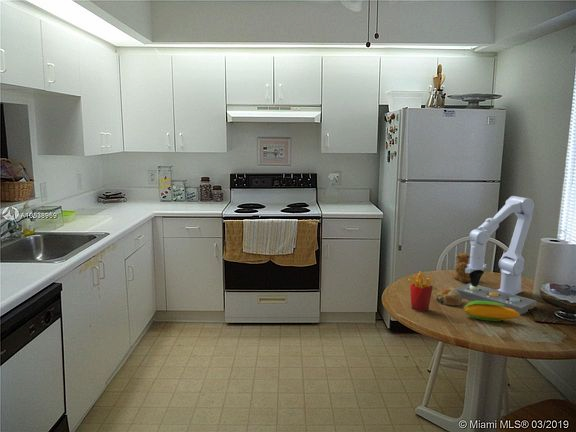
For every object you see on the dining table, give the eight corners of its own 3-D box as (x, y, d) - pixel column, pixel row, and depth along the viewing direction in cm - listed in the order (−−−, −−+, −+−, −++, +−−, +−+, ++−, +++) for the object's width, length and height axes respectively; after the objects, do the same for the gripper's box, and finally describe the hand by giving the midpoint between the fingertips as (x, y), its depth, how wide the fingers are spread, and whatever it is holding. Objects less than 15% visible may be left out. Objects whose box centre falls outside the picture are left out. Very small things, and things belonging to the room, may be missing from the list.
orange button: (491, 297, 208) (491, 290, 207) (500, 299, 205) (500, 293, 204) (486, 299, 205) (487, 292, 205) (495, 301, 202) (496, 295, 202)
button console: (469, 289, 221) (470, 282, 221) (535, 307, 198) (536, 300, 198) (453, 295, 212) (453, 288, 212) (520, 315, 190) (521, 307, 189)
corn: (464, 295, 189) (518, 300, 184) (462, 312, 191) (516, 318, 186) (465, 302, 182) (522, 308, 177) (464, 320, 184) (520, 327, 179)
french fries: (431, 309, 194) (434, 274, 192) (419, 313, 190) (421, 277, 187) (414, 303, 201) (416, 269, 199) (401, 307, 196) (403, 272, 194)
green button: (472, 290, 215) (472, 284, 214) (480, 292, 212) (481, 286, 211) (467, 292, 212) (468, 285, 212) (475, 294, 209) (476, 288, 209)
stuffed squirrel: (471, 276, 241) (473, 251, 239) (475, 285, 228) (477, 258, 226) (450, 275, 244) (452, 250, 241) (453, 283, 230) (455, 257, 228)
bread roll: (457, 314, 199) (467, 299, 197) (435, 303, 200) (445, 287, 198) (454, 306, 208) (463, 291, 207) (433, 295, 210) (442, 280, 208)
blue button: (511, 303, 201) (512, 296, 201) (520, 305, 198) (521, 298, 198) (506, 305, 199) (507, 298, 198) (516, 307, 196) (517, 300, 195)
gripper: (477, 252, 217) (474, 281, 219) (459, 257, 208) (457, 286, 210) (491, 255, 211) (489, 284, 214) (474, 260, 202) (472, 290, 205)
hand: (474, 286), depth 211 cm, fingers closed, pressing on green button
